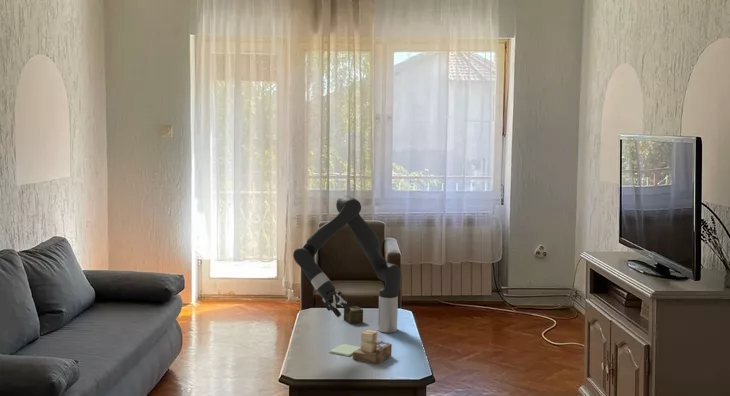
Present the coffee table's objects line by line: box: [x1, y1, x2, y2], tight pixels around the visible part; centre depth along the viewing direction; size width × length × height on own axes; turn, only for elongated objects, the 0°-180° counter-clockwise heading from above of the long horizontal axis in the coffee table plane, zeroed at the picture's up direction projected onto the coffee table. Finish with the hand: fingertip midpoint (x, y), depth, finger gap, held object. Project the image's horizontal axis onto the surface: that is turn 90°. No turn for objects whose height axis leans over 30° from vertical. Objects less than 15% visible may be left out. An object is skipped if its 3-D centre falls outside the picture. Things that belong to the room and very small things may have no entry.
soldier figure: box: [377, 333, 389, 348], centre depth 328 cm, size 8×5×12 cm
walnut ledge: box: [352, 342, 393, 365], centre depth 313 cm, size 12×12×6 cm
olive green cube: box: [343, 305, 364, 325], centre depth 370 cm, size 7×7×7 cm
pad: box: [328, 343, 361, 357], centre depth 322 cm, size 12×10×1 cm
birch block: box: [360, 329, 378, 353], centre depth 314 cm, size 5×5×8 cm
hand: (344, 314), depth 319 cm, fingers open, 8 cm apart
